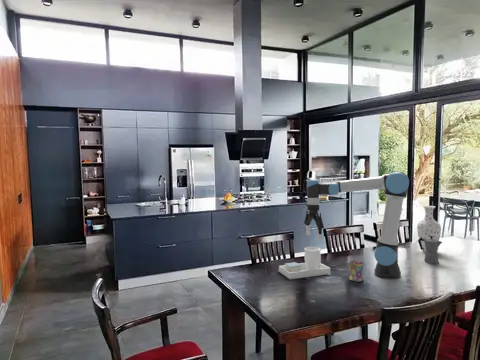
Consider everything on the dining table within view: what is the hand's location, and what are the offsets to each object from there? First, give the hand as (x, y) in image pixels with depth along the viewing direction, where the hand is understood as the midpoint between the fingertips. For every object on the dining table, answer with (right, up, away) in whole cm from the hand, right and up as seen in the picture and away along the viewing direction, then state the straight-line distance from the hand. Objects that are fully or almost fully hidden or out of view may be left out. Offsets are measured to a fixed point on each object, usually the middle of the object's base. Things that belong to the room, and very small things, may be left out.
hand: (313, 237), depth 221 cm
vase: (+99, -19, +47) cm, 111 cm away
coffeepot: (+85, -20, +20) cm, 90 cm away
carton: (-14, -23, -4) cm, 27 cm away
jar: (-1, -22, 0) cm, 22 cm away
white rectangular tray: (-6, -23, -1) cm, 24 cm away
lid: (-14, -17, -4) cm, 23 cm away
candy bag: (+22, -23, -13) cm, 35 cm away
